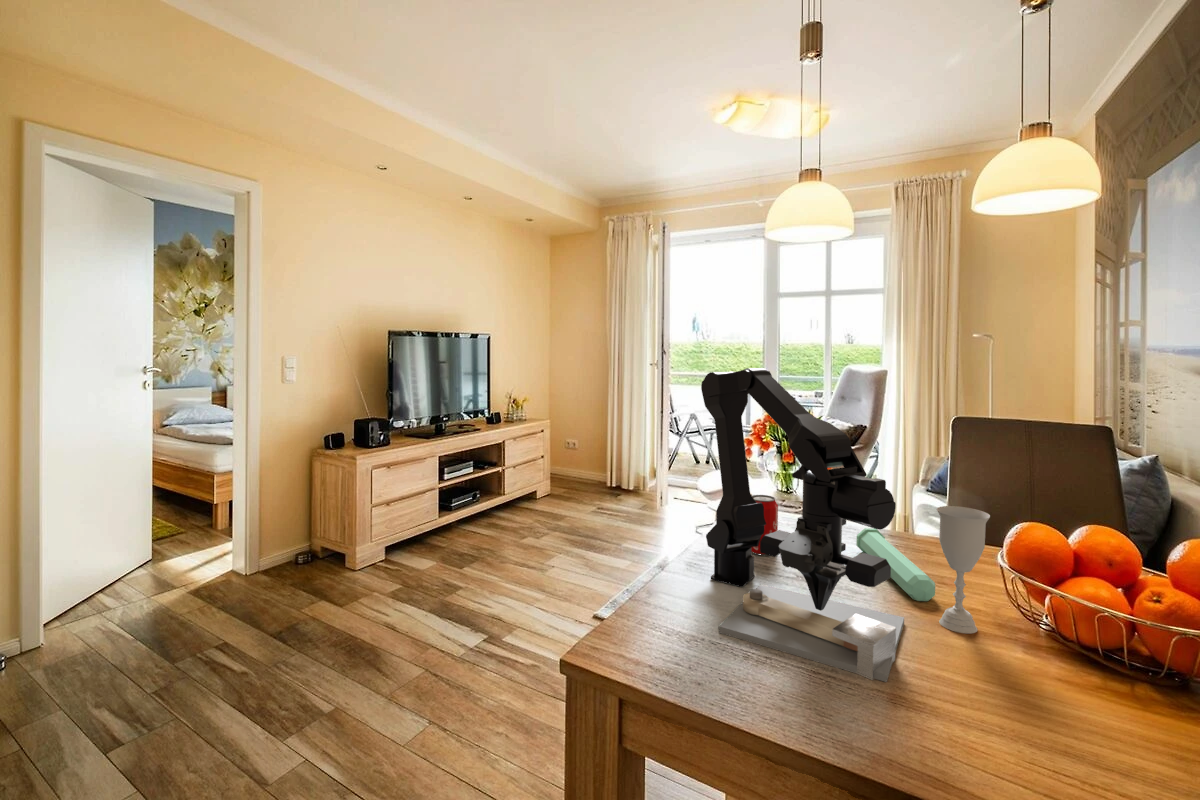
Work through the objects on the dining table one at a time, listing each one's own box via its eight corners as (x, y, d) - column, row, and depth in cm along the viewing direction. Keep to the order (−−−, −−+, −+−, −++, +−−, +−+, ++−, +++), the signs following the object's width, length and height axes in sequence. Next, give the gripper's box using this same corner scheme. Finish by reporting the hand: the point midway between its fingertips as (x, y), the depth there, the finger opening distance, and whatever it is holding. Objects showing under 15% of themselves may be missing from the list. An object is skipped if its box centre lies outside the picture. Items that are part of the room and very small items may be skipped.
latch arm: (738, 609, 88) (738, 591, 88) (751, 601, 91) (751, 584, 91) (860, 654, 75) (860, 633, 75) (870, 643, 78) (871, 623, 77)
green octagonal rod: (936, 570, 92) (878, 523, 117) (901, 581, 93) (851, 533, 118) (948, 601, 93) (888, 548, 117) (914, 613, 93) (861, 557, 118)
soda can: (778, 558, 114) (779, 502, 114) (747, 556, 116) (748, 500, 115) (775, 548, 121) (776, 494, 120) (746, 546, 122) (746, 493, 121)
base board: (718, 632, 84) (718, 626, 84) (760, 589, 99) (760, 583, 99) (886, 682, 70) (886, 674, 70) (904, 623, 86) (904, 617, 86)
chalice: (994, 639, 81) (1000, 520, 80) (943, 634, 82) (948, 518, 81) (971, 616, 88) (976, 507, 87) (925, 612, 90) (929, 505, 88)
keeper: (831, 662, 75) (832, 628, 75) (855, 645, 80) (856, 613, 79) (872, 680, 71) (873, 644, 71) (895, 660, 75) (896, 627, 75)
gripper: (739, 508, 87) (738, 603, 88) (856, 537, 72) (853, 651, 73) (780, 496, 93) (778, 585, 95) (894, 521, 79) (890, 625, 80)
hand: (819, 609), depth 85 cm, fingers closed
